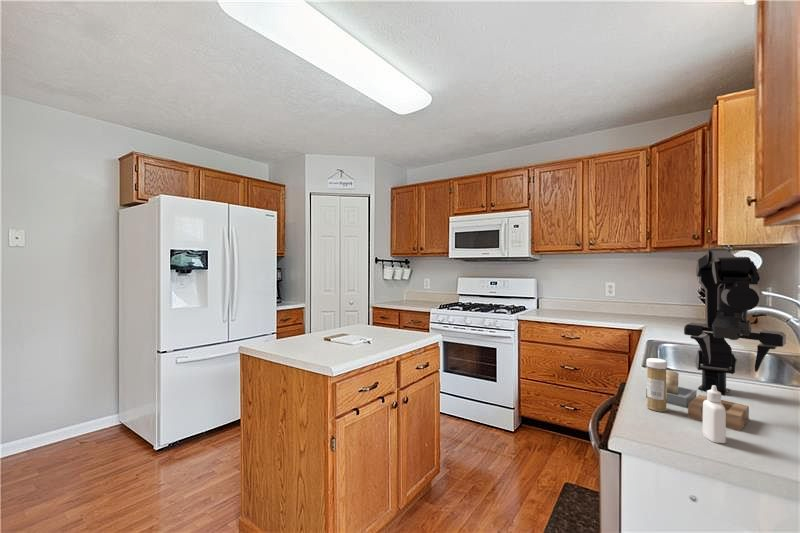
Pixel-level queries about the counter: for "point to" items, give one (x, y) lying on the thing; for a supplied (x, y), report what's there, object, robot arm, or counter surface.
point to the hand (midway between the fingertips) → (731, 367)
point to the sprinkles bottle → (656, 384)
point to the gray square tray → (681, 397)
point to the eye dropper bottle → (714, 417)
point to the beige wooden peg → (672, 382)
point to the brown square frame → (734, 411)
